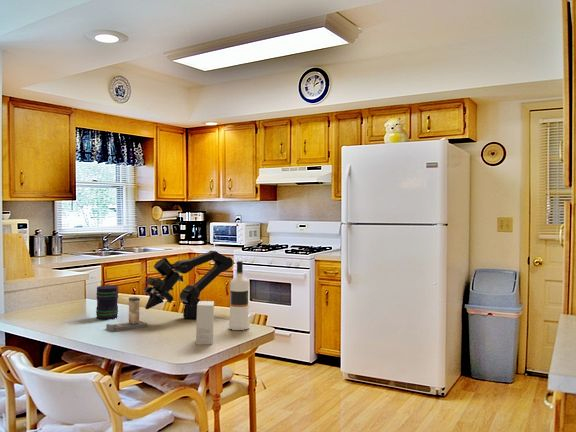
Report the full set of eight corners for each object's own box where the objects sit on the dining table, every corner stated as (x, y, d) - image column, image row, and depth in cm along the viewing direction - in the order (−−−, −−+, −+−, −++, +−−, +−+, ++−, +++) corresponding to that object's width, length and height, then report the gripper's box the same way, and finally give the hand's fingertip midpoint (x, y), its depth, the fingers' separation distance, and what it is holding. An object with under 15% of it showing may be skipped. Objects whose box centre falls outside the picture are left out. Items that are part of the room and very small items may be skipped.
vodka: (225, 327, 219) (226, 260, 219) (245, 325, 223) (245, 259, 223) (232, 332, 211) (233, 262, 211) (252, 330, 215) (253, 261, 215)
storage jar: (122, 317, 238) (122, 286, 238) (107, 320, 229) (107, 288, 229) (107, 315, 242) (107, 284, 243) (91, 318, 234) (91, 287, 234)
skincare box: (197, 339, 198) (198, 300, 198) (214, 339, 198) (214, 300, 198) (195, 345, 189) (196, 304, 189) (212, 344, 190) (213, 304, 190)
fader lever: (135, 321, 221) (135, 296, 221) (139, 322, 218) (139, 298, 218) (128, 322, 219) (128, 297, 219) (132, 323, 216) (132, 298, 216)
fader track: (139, 323, 224) (139, 319, 224) (146, 326, 219) (147, 322, 219) (106, 328, 213) (106, 324, 213) (112, 331, 208) (113, 327, 208)
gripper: (148, 269, 233) (125, 294, 225) (167, 273, 219) (144, 300, 211) (162, 284, 238) (141, 309, 230) (182, 289, 224) (160, 316, 217)
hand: (146, 308), depth 222 cm, fingers closed
